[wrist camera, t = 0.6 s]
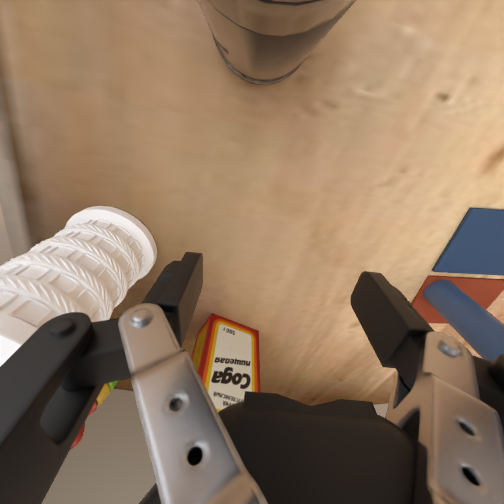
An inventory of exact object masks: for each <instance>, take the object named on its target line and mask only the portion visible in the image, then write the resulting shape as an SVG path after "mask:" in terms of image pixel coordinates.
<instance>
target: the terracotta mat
mask: <svg viewBox="0 0 504 504" xmlns="http://www.w3.org/2000/svg"><path fill="white" fill-rule="evenodd" d="M439 280H449V281H451V282H452V283H454V284H455V285H456V286H457V287H458V288H460V289H461V290H462V291H463V292H465V293H466V294H467V295H468V296H470V297H471V298H472V299H473V300H474V301H476V302H477V303H478V304H479V305H481V306H482V307H483V308H484V309H485V310H486V309H487V308H488V307H489V306H490V305H491V304H492V302H493V301H494V300H495V299H496V298H497V297H498V296H499V294H500V293H501V292H502V291H503V290H504V280H503V279H484V278H464V277H445V276H428V278H427V279H426V281H425V282H424V284H423V286H422V287H421V289H420V290H419V292H418V294H417V295H416V297H415V299H414V300H413V302H412V303H411V304H412V306H413V308H415V309H416V310H417V311H418V313H419V314H420V315H421V316H422V317H423V318H424V320H425V321H426V322H427V323H448V322H447V321H446V320H445V319H444V318H443V317H442V316H441V315H440V314H439V313H438V311H437V310H436V309H435V308H434V307H433V306H432V305H431V304H430V303H429V302H428V301H427V300H426V299H425V298H424V296H423V292H424V290H425V289H426V287H427V286H429V285H430V284H431V283H433V282H436V281H439ZM448 324H449V323H448Z"/></svg>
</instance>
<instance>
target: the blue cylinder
mask: <svg viewBox="0 0 504 504" xmlns="http://www.w3.org/2000/svg"><path fill="white" fill-rule="evenodd" d="M423 296H424V298H425V299H426V300H427V301H428V302H429V303H430V304H431V305H432V306H433V307H434V308H435V309H436V310H437V311H438V313H439V314H440V315H441V316H442V317H443V318H444V319H445V320H446V321H447V322H448V323H449V324H450V325H451V326H452V327H453V328H454V329H455V330H456V331H457V332H458V333H459V334H460V335H461V336H462V337H463V338H464V339H465V340H466V342H467V343H468V344H469V345H470V346H471V347H472V348H473V349H474V350H475V351H476V352H477V353H478V354H479V355H480V356H481V357H482V358H483V359H485V360H488V361H491V362H492V361H493V360H495V359H496V358H497V357H498V356H499V355H501V354H504V324H503V323H501V322H500V321H499V320H498V319H497V318H495V317H494V316H493V315H492V314H490V313H489V312H488V311H487V310H485V309H484V308H483V307H482V306H481V305H479V304H478V303H477V302H476V301H474V300H473V299H472V298H471V297H470V296H468V295H467V294H466V293H465V292H463V291H462V290H461V289H460V288H458V287H457V286H456V285H455V284H454V283H452V282H451V281H449V280H439V281H436V282H433V283H431V284H430V285H429V286H427V287H426V289H425V290H424V292H423Z"/></svg>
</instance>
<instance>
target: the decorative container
mask: <svg viewBox="0 0 504 504" xmlns="http://www.w3.org/2000/svg"><path fill="white" fill-rule="evenodd" d="M156 257H157V247H156V243H155V241H154V238H153V236H152V235H151V233H150V232H149V230H148V229H147V228H146V226H144V225H143V224H142V223H141V222H140V221H139V220H138V219H137V218H135V217H134V216H132V215H130V214H128V213H127V212H125V211H122V210H119V209H117V208H114V207H107V206H94V207H89V208H86V209H84V210H82V211H80V212H78V213H76V214H74V215H73V216H72V217H71V218H70V219H69V220H68V221H67V224H66V227H65V228H64V230H60V231H59V232H58V233H56V234H55V236H54V237H52V238H50V239H46V240H45V241H41V242H40V244H36V245H35V247H32V248H31V250H30V251H29V252H28V253H27V254H23V255H21V256H17V257H16V258H14V259H12V258H11V261H9V262H5V264H4V265H2V266H0V367H1V366H2V365H3V364H4V363H5V362H6V361H7V360H8V359H9V357H10V356H11V355H12V354H13V353H14V352H15V351H16V350H17V349H18V348H19V347H20V346H21V345H22V344H23V343H24V342H25V341H26V340H27V339H28V338H29V337H30V336H31V335H32V334H33V333H34V332H35V331H36V330H37V329H38V328H39V327H41V326H42V325H43V324H44V323H46V322H47V321H49V320H50V319H52V318H54V317H57V316H59V315H62V314H66V313H71V312H81V313H85V314H87V315H88V316H89V317H90V320H91V322H97V321H104V320H109V319H110V317H111V314H112V312H113V308H115V307H116V306H117V305H119V304H120V303H121V302H122V301H123V299H124V298H125V296H126V293H127V290H128V289H129V288H131V287H132V286H133V285H134V284H135V282H136V281H137V280H139V279H141V278H143V277H144V276H145V275H147V274H148V273H149V271H150V270H151V268H152V267H153V265H154V264H155V262H156Z"/></svg>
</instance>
